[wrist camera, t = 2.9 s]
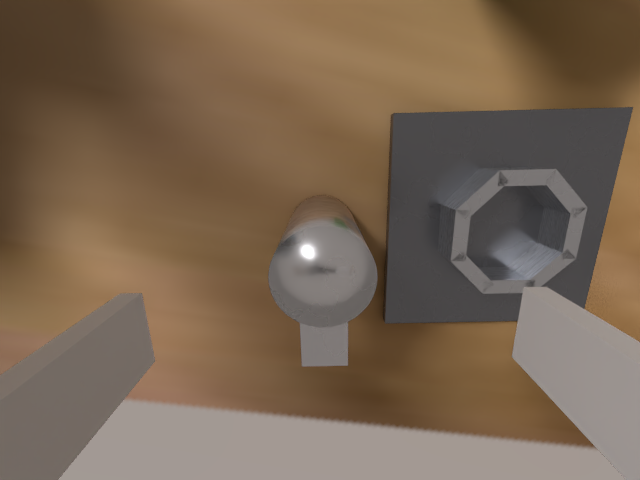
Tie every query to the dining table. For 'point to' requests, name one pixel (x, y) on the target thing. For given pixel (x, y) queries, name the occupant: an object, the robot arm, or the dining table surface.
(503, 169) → the duct flange
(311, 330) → the elbow
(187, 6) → the dining table surface
